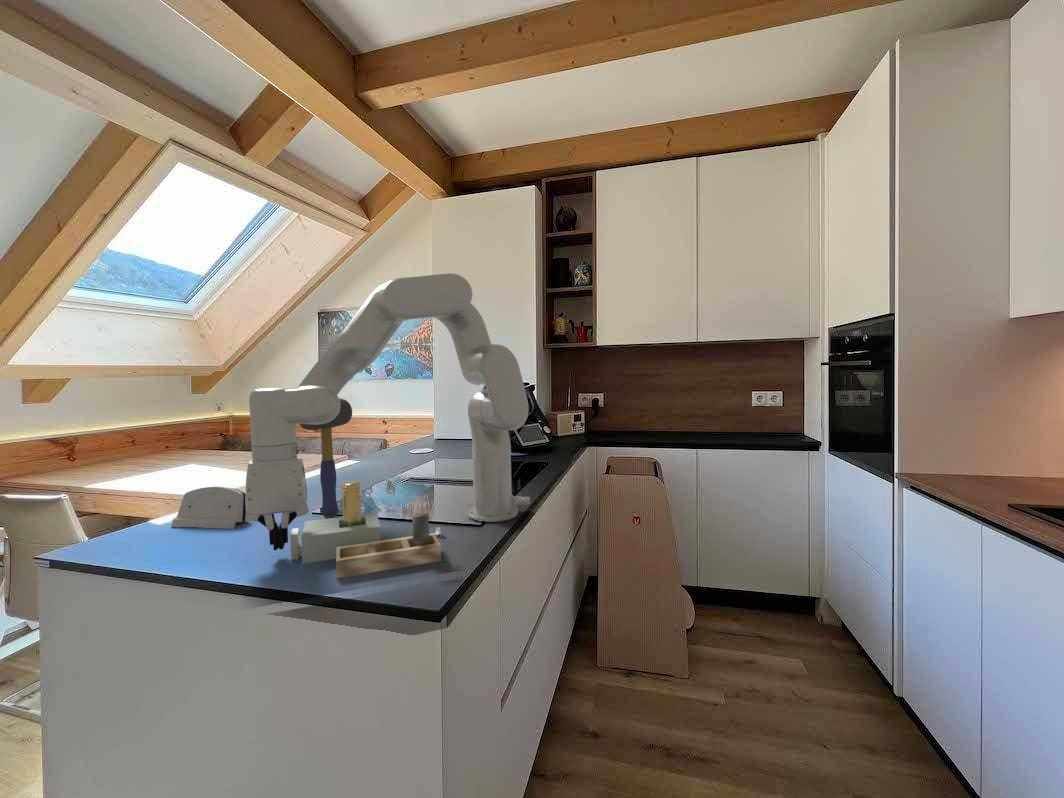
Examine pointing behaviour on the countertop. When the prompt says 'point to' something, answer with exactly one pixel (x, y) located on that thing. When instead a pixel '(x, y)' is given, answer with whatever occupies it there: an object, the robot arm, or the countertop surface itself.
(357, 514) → the gold cylindrical peg
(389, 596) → the countertop surface
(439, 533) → the adhesive hook
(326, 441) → the rubber mallet
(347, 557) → the rack
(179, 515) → the grey rounded block
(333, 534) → the socket block
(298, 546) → the t-shaped push slider
